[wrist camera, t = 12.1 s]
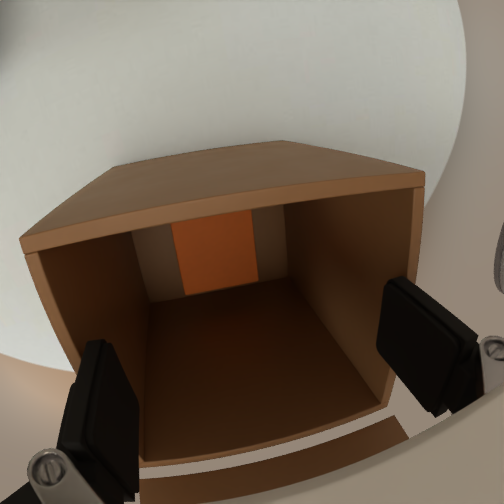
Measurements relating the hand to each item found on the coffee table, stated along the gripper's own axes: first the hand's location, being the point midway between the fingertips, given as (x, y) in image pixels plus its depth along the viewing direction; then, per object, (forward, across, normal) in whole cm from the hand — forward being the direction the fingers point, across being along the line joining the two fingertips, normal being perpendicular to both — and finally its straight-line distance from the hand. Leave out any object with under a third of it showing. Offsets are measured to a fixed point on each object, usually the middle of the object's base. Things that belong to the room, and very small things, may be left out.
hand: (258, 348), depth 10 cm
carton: (+14, 0, 0) cm, 14 cm away
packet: (+14, 0, 0) cm, 14 cm away
